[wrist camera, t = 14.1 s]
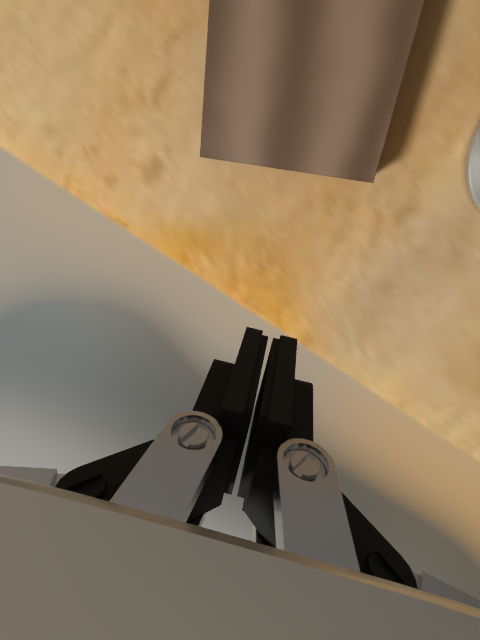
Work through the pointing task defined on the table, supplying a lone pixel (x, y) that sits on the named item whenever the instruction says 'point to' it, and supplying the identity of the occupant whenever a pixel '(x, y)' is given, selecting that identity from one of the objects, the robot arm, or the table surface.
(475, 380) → the table surface
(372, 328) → the table surface
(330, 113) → the walnut board
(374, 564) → the robot arm
